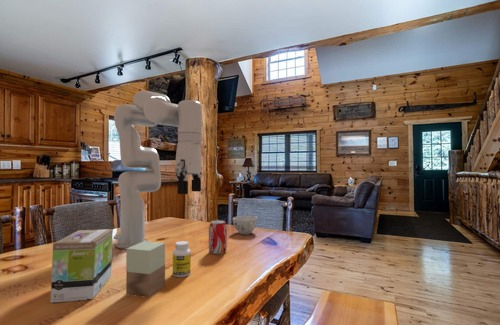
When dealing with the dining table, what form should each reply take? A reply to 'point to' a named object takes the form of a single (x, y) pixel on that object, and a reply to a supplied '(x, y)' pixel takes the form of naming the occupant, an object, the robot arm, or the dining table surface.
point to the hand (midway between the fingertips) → (189, 192)
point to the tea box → (81, 265)
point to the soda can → (217, 237)
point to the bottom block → (145, 282)
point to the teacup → (245, 224)
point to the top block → (145, 257)
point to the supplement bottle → (181, 259)
